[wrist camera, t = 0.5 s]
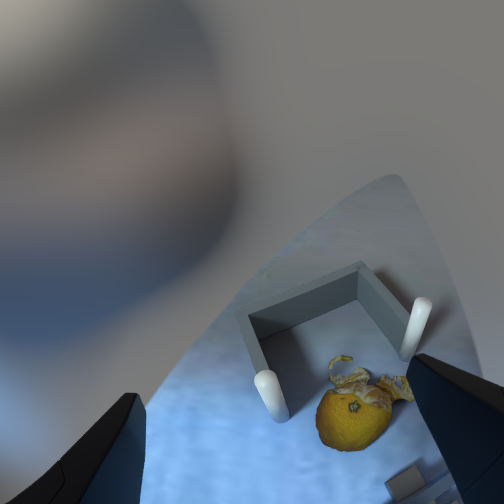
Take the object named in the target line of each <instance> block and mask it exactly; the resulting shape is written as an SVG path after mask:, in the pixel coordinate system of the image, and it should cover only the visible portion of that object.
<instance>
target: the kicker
mask: <svg viewBox="0 0 504 504" xmlns="http://www.w3.org/2000/svg"><path fill="white" fill-rule="evenodd" d="M453 485H455V482H454V480H453V478H452V475H451V473H450V471H449V469H448V470H447V471H445V472H444V473H443V474H441V475H440V476H438V477H437V478H436V479H434V480H433V481H431V482H430V483H428V484H427V485H425V486H424V487H422V488H421V489H419V490H418V491H416V492H415V493H413V494H412V495H410V496H408V497H407V498H405V499H403V500H402V501H400V502H398V503H396V504H435V502H434V501H433V500H434V499H436V498H437V497H439V496H440V495H441V494H443V493H444V492H445V491H447V490H448V489H449V488H451V487H452V486H453ZM446 504H459V503H458V501H457V500H452V501H449V502H448V503H446Z"/></svg>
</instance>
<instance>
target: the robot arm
mask: <svg viewBox="0 0 504 504" xmlns="http://www.w3.org/2000/svg"><path fill="white" fill-rule="evenodd" d="M406 378H407V381H408V384H409V386H410V388H411V391H412V393H413V396H414V398H415V401H416V403H417V406H418V408H419V410H420V413H421V415H422V417H423V419H424V421H425V422H426V424H427V426H428V428H429V430H430V432H431V434H432V436H433V438H434V440H435V442H436V444H437V446H438V448H439V450H440V452H441V454H442V456H443V458H444V460H445V463H446V465H447V467H448V469H449V471H450V473H451V475H452V478H453V480H454V482H455V484H456V486H457V489H458V491H459V493H460V495H461V498H462V501H463V503H464V504H504V387H501V386H499V385H497V384H494V383H492V382H489V381H487V380H485V379H482V378H480V377H477V376H475V375H473V374H470V373H468V372H466V371H463V370H461V369H459V368H456V367H454V366H451V365H449V364H447V363H445V362H442V361H440V360H438V359H435V358H433V357H431V356H428V355H426V354H424V353H420V354H417V355H414V356H413V357H412V358H411V360H410V363H409V367H408V369H407V373H406ZM145 446H146V410H145V408H144V405H143V403H142V401H141V398H140V396H139V395H138V394H137V393H125V394H124V395H123V396H121V397H120V398H119V400H118V401H117V402H116V403H115V404H114V405H113V406H112V407H111V408H110V409H109V410H108V411H107V412H106V413H105V414H104V415H103V416H102V417H101V418H100V419H99V420H98V421H97V422H96V423H95V424H94V425H93V426H92V427H91V428H90V429H89V430H88V431H87V432H86V433H85V434H84V435H83V436H82V437H81V438H80V439H79V440H78V441H77V442H76V443H75V444H74V445H73V446H72V447H71V448H70V449H69V450H68V451H67V452H66V453H65V454H64V455H63V456H62V457H61V458H60V460H59V461H57V462H56V463H55V464H54V465H53V466H52V467H51V468H50V469H49V470H48V471H47V472H46V473H45V474H44V475H43V476H41V477H40V478H39V479H38V480H37V481H35V482H34V483H33V484H32V485H31V486H29V487H28V488H26V489H25V490H24V491H22V492H21V493H20V494H18V495H17V496H16V497H14V498H13V499H12V500H10V501H9V502H7V503H5V504H140V494H141V486H142V478H143V470H144V463H145Z"/></svg>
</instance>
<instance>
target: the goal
mask: <svg viewBox="0 0 504 504" xmlns="http://www.w3.org/2000/svg"><path fill="white" fill-rule="evenodd" d="M355 299H358V301H359V302H360V303H361V304H362V306H363V307H364V308H365V310H366V311H367V312H368V313H369V315H370V316H371V317H372V319H373V320H374V321H375V323H376V324H377V325H378V327H379V328H380V329H381V331H382V332H383V333H384V335H385V336H386V337H387V339H388V340H389V341H390V343H391V344H392V345H393V347H394V348H395V349H396V351H397V352H398V353H399V358H400V359H401V360H402V361H404V362H408V361H410V360H411V358H412V357H413V356H414V353H415V351H416V348H417V346H418V343H419V341H420V338H421V336H422V333H423V330H424V328H425V325H426V322H427V319H428V316H429V313H430V310H431V307H432V303H431V301H430V300H429V299H428V298H426V297H419V298H417V299H416V300H415V302H414V305H413V309H412V313H411V315H410V314H409V313H408V312H407V311H406V309H405V308H404V307H403V306H402V305H401V304H400V302H399V301H398V300H397V299H396V298H395V297H394V296H393V295H392V293H391V292H390V291H389V290H388V289H387V288H386V287H385V286H384V285H383V283H382V282H381V281H380V280H379V279H378V278H377V277H376V276H375V275H374V274H373V273H372V271H371V270H370V269H369V268H368V267H367V266H366V265H365V264H364V263H363V262H362V261H359V262H357V263H354V264H352V265H350V266H347V267H345V268H343V269H340V270H338V271H335V272H333V273H331V274H328V275H326V276H323V277H321V278H318V279H316V280H313V281H311V282H308V283H306V284H303V285H301V286H298V287H296V288H293V289H291V290H288V291H286V292H283V293H280V294H278V295H275V296H273V297H270V298H267V299H265V300H262V301H259V302H257V303H254V304H251V305H249V306H246V307H243V308H241V309H238V310H235V311H234V312H235V315H236V318H237V321H238V324H239V326H240V329H241V332H242V335H243V338H244V341H245V343H246V346H247V349H248V352H249V354H250V357H251V360H252V363H253V365H254V368H255V371H256V373H257V375H256V376H255V379H254V382H255V385H256V387H257V389H258V391H259V393H260V395H261V397H262V399H263V401H264V403H265V404H266V406H267V408H268V410H269V412H270V414H271V416H272V418H273V420H274V421H275V422H277V423H284V422H286V421H287V420H288V419H289V417H290V413H289V410H288V408H287V405H286V402H285V399H284V396H283V393H282V390H281V387H280V385H279V382H278V379H277V376H276V374H275V373H274V372H273V371H271V370H270V369H269V367H268V365H267V362H266V360H265V357H264V355H263V352H262V350H261V347H260V345H259V342H258V340H259V339H262V338H265V337H267V336H270V335H273V334H275V333H278V332H280V331H283V330H285V329H288V328H290V327H293V326H295V325H298V324H300V323H303V322H305V321H307V320H310V319H312V318H315V317H317V316H319V315H322V314H324V313H326V312H329V311H331V310H333V309H335V308H338V307H340V306H342V305H344V304H346V303H349V302H351V301H353V300H355Z"/></svg>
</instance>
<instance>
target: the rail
mask: <svg viewBox="0 0 504 504" xmlns="http://www.w3.org/2000/svg"><path fill="white" fill-rule="evenodd" d="M384 484H385V486H386V488H387V490H388V492H389V494H390V495H391V497H392V499H393V501H394V503H395V504H396V503H398V502H400V501H402V500H403V499H405V498H407V497H408V496H410V495H412V494H413V493H415V492H416V491H418V490H419V489H421V488H422V487H424V486H425V485H427V484H426V482H425V481H424V479H423V477H422V475H421V474H420V472H419V470H418V468H417V467H416V465H414V466H412V467H411V468H409V469H408V470H406V471H404V472H403V473H401V474H399V475H398V476H396V477H394V478H393V479H391V480H389V481H387V482H385V483H384ZM433 501H434V502H435V504H437V502H436V500H435V499H434V500H433Z"/></svg>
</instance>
